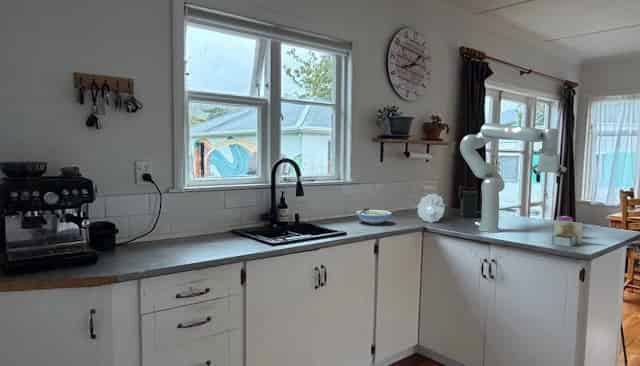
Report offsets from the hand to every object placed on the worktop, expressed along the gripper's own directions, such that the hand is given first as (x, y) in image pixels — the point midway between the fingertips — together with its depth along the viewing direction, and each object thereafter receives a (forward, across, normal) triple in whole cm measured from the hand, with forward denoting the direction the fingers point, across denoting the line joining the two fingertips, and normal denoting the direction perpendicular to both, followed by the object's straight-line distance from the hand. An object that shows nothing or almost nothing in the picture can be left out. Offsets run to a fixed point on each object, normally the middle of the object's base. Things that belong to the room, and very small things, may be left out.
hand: (547, 182), depth 230 cm
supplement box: (+31, +7, +9) cm, 33 cm away
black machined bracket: (+31, -65, +42) cm, 83 cm away
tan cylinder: (+29, +12, -10) cm, 33 cm away
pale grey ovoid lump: (+31, -73, +5) cm, 79 cm away
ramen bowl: (+31, -92, -34) cm, 103 cm away
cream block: (+30, +12, -9) cm, 34 cm away
